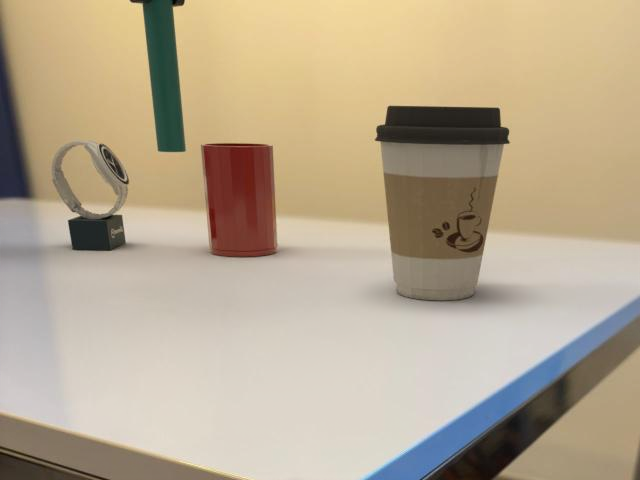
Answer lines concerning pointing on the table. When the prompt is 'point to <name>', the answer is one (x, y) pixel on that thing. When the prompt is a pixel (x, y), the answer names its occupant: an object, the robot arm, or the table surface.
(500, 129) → the coffee cup
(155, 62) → the straw
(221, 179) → the can
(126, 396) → the table surface
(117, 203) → the watch
